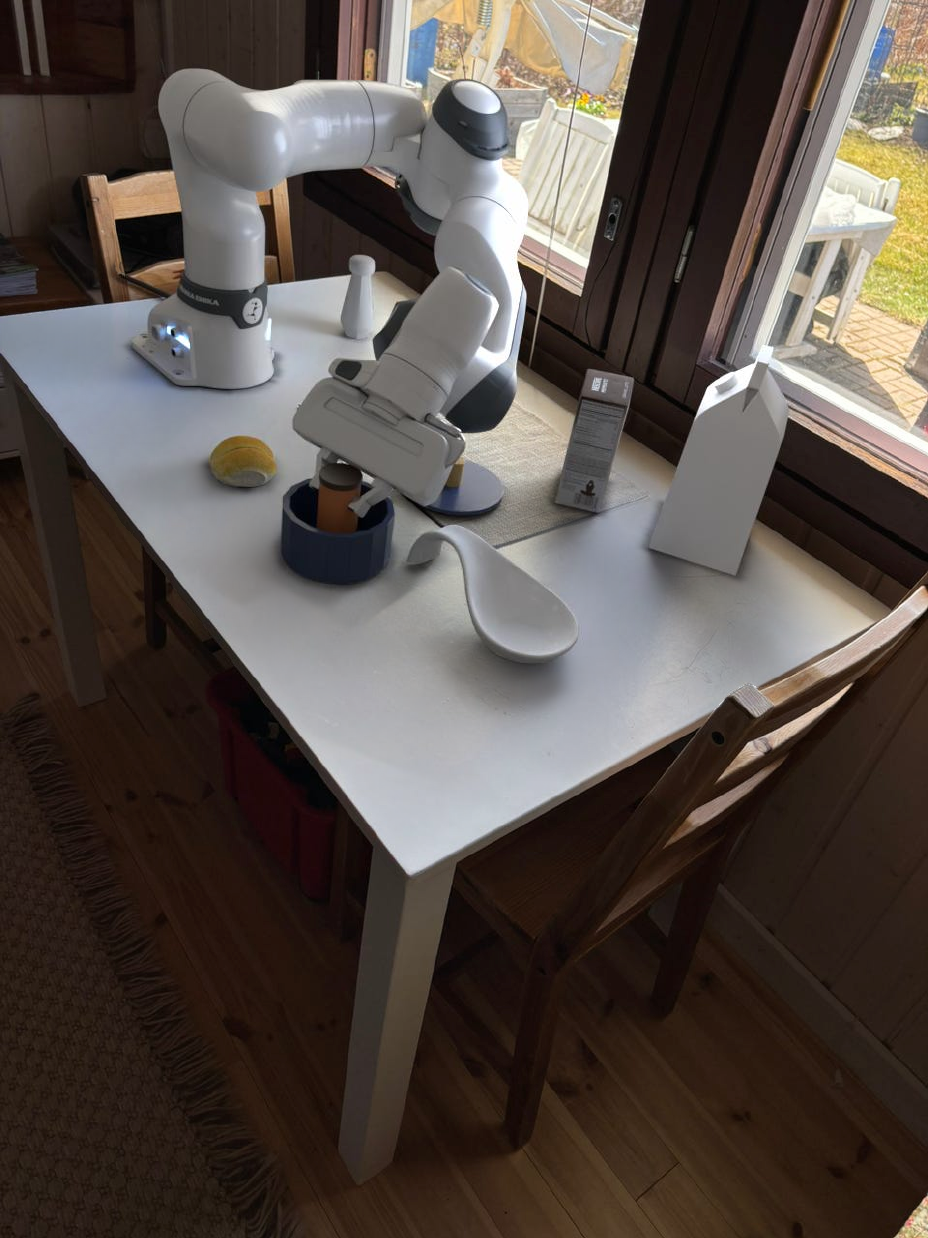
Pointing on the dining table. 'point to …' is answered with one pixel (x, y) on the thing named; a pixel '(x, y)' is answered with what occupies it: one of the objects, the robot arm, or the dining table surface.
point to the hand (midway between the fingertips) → (334, 501)
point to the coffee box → (594, 439)
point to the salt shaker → (359, 299)
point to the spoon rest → (504, 599)
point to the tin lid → (468, 490)
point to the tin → (334, 539)
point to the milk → (724, 469)
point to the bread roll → (242, 462)
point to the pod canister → (338, 497)
